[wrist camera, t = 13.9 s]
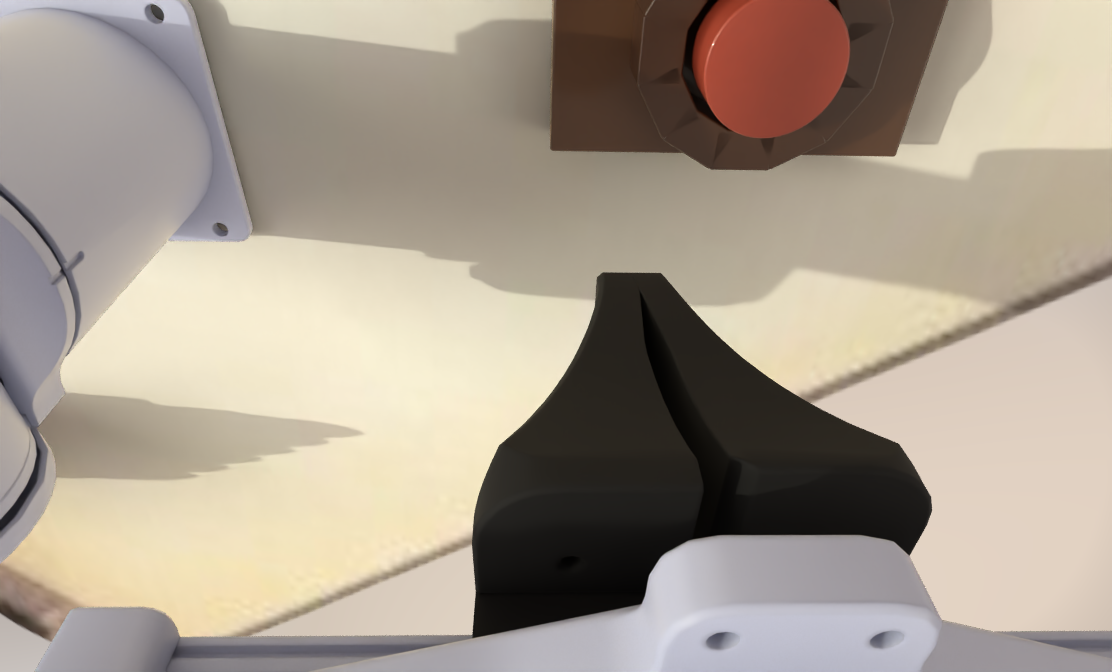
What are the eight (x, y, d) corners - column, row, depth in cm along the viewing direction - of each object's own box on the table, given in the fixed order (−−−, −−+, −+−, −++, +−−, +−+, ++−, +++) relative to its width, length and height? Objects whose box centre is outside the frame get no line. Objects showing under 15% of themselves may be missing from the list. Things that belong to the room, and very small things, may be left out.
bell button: (682, 115, 19) (693, 137, 18) (702, -27, 17) (716, -14, 16) (808, 117, 19) (828, 140, 18) (843, -24, 17) (870, -10, 16)
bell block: (549, 131, 23) (551, 175, 20) (554, -122, 18) (557, -111, 16) (874, 137, 23) (921, 181, 20) (953, -110, 19) (1025, -97, 16)
